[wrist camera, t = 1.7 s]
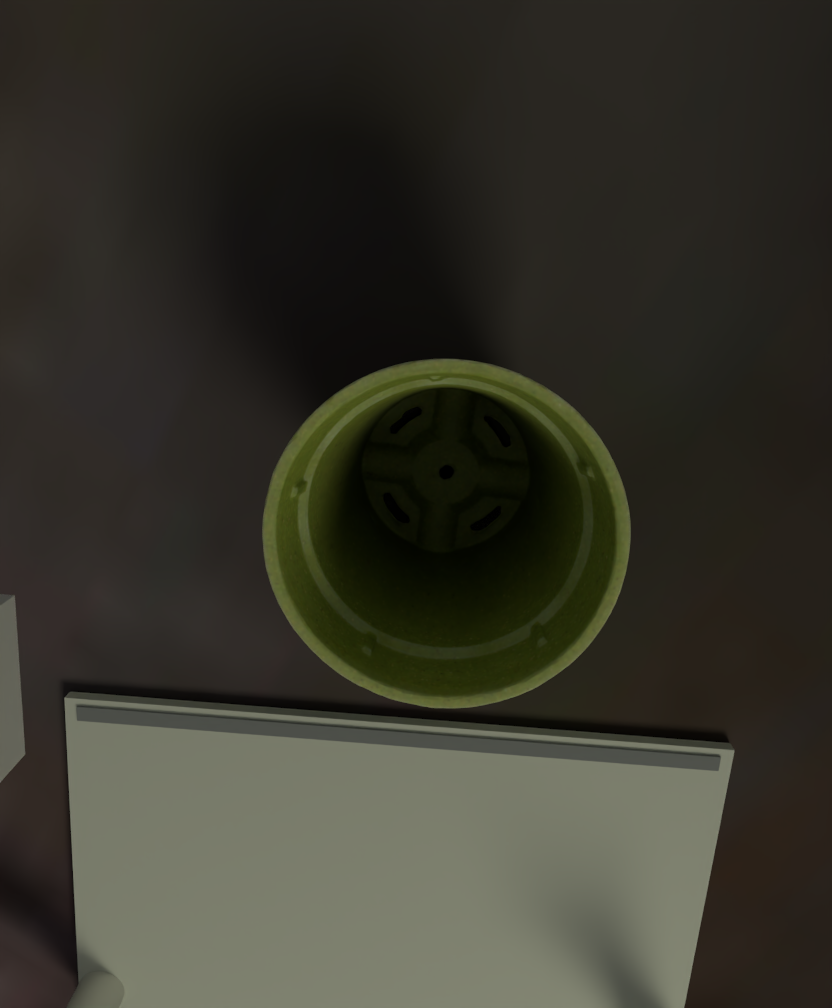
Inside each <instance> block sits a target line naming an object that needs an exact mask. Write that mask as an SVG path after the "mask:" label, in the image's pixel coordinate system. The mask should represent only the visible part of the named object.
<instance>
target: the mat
mask: <svg viewBox="0 0 832 1008" xmlns="http://www.w3.org/2000/svg"><path fill="white" fill-rule="evenodd" d="M64 700H65V720H66V740H67V760H68V780H69V800H70V821H71V841H72V861H73V881H74V901H75V921H76V941H77V961H78V981H79V984H78V986H77V988H76V990H75V992H74V994H73V996H72V998H71V1000H70V1002H69V1003H68V1005H67V1007H66V1008H684V1005H685V1000H686V995H687V990H688V985H689V980H690V975H691V970H692V965H693V959H694V954H695V949H696V944H697V939H698V934H699V929H700V924H701V919H702V914H703V908H704V903H705V898H706V893H707V888H708V883H709V878H710V873H711V868H712V862H713V857H714V852H715V847H716V842H717V837H718V832H719V827H720V822H721V817H722V811H723V806H724V801H725V796H726V791H727V786H728V781H729V776H730V771H731V766H732V760H733V755H734V749H733V747H732V746H731V744H730V743H722V742H710V741H697V740H684V739H671V738H658V737H646V736H633V735H620V734H607V733H595V732H582V731H569V730H556V729H543V728H531V727H518V726H505V725H492V724H479V723H467V722H454V721H441V720H428V719H416V718H403V717H390V716H377V715H364V714H352V713H339V712H326V711H313V710H301V709H288V708H275V707H262V706H249V705H237V704H224V703H211V702H198V701H186V700H173V699H160V698H147V697H134V696H122V695H109V694H96V693H83V692H71V691H70V692H69V693H68V694H67V695H66V697H65V698H64Z"/></svg>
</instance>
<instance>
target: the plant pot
mask: <svg viewBox="0 0 832 1008" xmlns="http://www.w3.org/2000/svg"><path fill="white" fill-rule="evenodd" d="M415 407H418V408H420V409H422V413H421V415H419V416H416V417H415V418H414V419H412V420H411V421H409V422H408V423H407V424H405V425H404V426H403V427H402V428H401V429H400V430H399V431H398V432H397V433H396V434H392V433H390V432H391V429H390V428H391V425H392V424H394V423H396V422H397V421H398V420H400V419H401V417H402V415H403V414H404V413H405V412H406V411H408V410H410V409H412V408H415ZM485 416H486V417H489V416H490V417H492V418H493V419H495V420H496V421H497V422H499V423H500V424H501V425H502V426H503V427H504V429H505V430H506V432H507V433H508V435H509V436H510V445H509V446H508V447H507V448H506V447H504V446H503V445H502V444H501V441H500V440H499V438H498V436H497V435H496V433H495V432H494V431H493V429H492V428H491V427H490V426H489V425H488V422H486V421H485V420H484V417H485ZM445 465H448V466H451V467H452V468H453V469H454V473H453V475H452V477H450V478H448V479H443V478H441V477H440V474H439V470H440V469H441V468H443V467H444V466H445ZM385 493H390V494H391V496H392V497H393V499H394V500H395V502H396V504H397V505H398V507H399V508H400V509H401V510H402V511H403V512H404V513H405V514H407V515H408V517H409V519H410V521H409V523H403V522H400V521H398V520H397V519H396V518H395V517H394V516H393V514H392V513H391V512H390V510H389V509H388V508H387V506H386V504H385V502H384V499H383V497H384V494H385ZM497 506H500V507H501V514H500V515H499V516H498V517H497V518H496V519H495V520H494V521H493V522H492V523H490V524H489V525H488V526H487V527H486V528H483V529H481V530H479V531H478V530H475V531H474V530H472V529H471V528H470V527H471V525H472V524H474V523H475V522H477V521H479V520H480V519H483V518H485V517H486V516H487V515H488V514H489V513H491V512H492V511H493V510H494V509H495V508H496V507H497ZM262 536H263V550H264V559H265V565H266V570H267V573H268V576H269V580H270V583H271V586H272V589H273V591H274V594H275V597H276V599H277V601H278V603H279V605H280V607H281V609H282V611H283V613H284V614H285V616H286V618H287V619H288V621H289V623H290V624H291V626H292V627H293V629H294V630H295V631H296V632H297V634H298V635H299V636H300V637H301V639H302V640H303V641H304V642H305V643H306V644H307V645H308V647H309V648H310V649H311V650H312V651H313V652H314V653H315V654H316V655H317V656H318V657H319V658H320V659H321V660H323V661H324V662H325V663H326V664H327V665H329V666H330V667H331V668H332V669H334V670H335V671H336V672H338V673H339V674H340V675H342V676H343V677H345V678H347V679H348V680H350V681H352V682H354V683H355V684H357V685H359V686H362V687H364V688H366V689H368V690H370V691H372V692H374V693H376V694H378V695H382V696H384V697H387V698H390V699H393V700H396V701H401V702H405V703H410V704H415V705H419V706H425V707H430V708H466V707H476V706H481V705H486V704H490V703H495V702H499V701H502V700H505V699H509V698H512V697H515V696H518V695H521V694H523V693H525V692H527V691H530V690H532V689H534V688H536V687H538V686H539V685H541V684H543V683H544V682H546V681H547V680H549V679H550V678H552V677H553V676H555V675H556V674H558V673H559V672H561V671H562V670H563V669H564V668H566V667H567V666H569V665H570V664H571V663H572V662H573V661H574V660H575V659H576V658H577V657H578V656H579V655H580V654H581V653H582V652H583V651H584V650H585V649H586V648H587V647H588V646H589V644H590V643H591V642H592V641H593V639H594V638H595V637H596V635H597V634H598V633H599V631H600V630H601V628H602V627H603V625H604V624H605V622H606V620H607V619H608V617H609V615H610V614H611V612H612V609H613V607H614V605H615V603H616V601H617V598H618V596H619V593H620V591H621V588H622V584H623V580H624V577H625V574H626V569H627V563H628V557H629V549H630V538H631V528H630V514H629V508H628V503H627V498H626V494H625V490H624V487H623V483H622V480H621V478H620V475H619V473H618V470H617V468H616V466H615V464H614V462H613V460H612V458H611V456H610V453H609V452H608V450H607V448H606V447H605V445H604V444H603V442H602V440H601V439H600V438H599V436H598V435H597V433H596V432H595V431H594V429H593V428H592V427H591V426H590V425H589V423H588V422H587V421H586V420H585V419H584V418H583V417H582V416H581V415H580V414H579V413H578V412H577V411H576V410H575V409H574V408H573V407H572V406H571V405H570V404H569V403H567V402H566V401H565V400H563V399H562V398H561V397H559V396H558V395H557V394H555V393H554V392H552V391H551V390H549V389H547V388H546V387H544V386H543V385H541V384H539V383H537V382H535V381H534V380H532V379H529V378H527V377H525V376H523V375H521V374H519V373H516V372H514V371H511V370H508V369H505V368H502V367H499V366H496V365H492V364H487V363H482V362H477V361H470V360H462V359H428V360H419V361H411V362H406V363H402V364H398V365H394V366H390V367H387V368H384V369H381V370H379V371H376V372H373V373H371V374H369V375H367V376H364V377H362V378H360V379H358V380H356V381H355V382H353V383H351V384H349V385H348V386H346V387H345V388H343V389H341V390H340V391H338V392H337V393H336V394H334V395H333V396H332V397H330V398H329V399H328V400H327V401H325V402H324V403H323V404H322V405H321V406H320V407H318V408H317V409H316V410H315V411H314V412H313V413H312V414H311V415H310V416H309V417H308V418H307V419H306V420H305V422H304V423H303V424H302V425H301V427H300V428H299V429H298V430H297V432H296V433H295V434H294V436H293V437H292V439H291V440H290V442H289V443H288V445H287V446H286V448H285V450H284V452H283V453H282V455H281V457H280V459H279V461H278V463H277V465H276V467H275V470H274V472H273V475H272V478H271V481H270V485H269V489H268V493H267V497H266V502H265V508H264V515H263V528H262Z"/></svg>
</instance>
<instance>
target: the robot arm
mask: <svg viewBox="0 0 832 1008" xmlns="http://www.w3.org/2000/svg"><path fill="white" fill-rule="evenodd" d="M24 755H25V745H24V730H23V714H22V699H21V684H20V669H19V654H18V639H17V624H16V609H15V595H2V594H0V782H1V781H2V780H3V779H4V778H5V776H6V775H7V774H8V773H9V772H10V771H11V770H12V768H13V767H14V766H15V765H16V764H17V763H18V762H19V760H20V759H21V758H22V757H23V756H24Z"/></svg>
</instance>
